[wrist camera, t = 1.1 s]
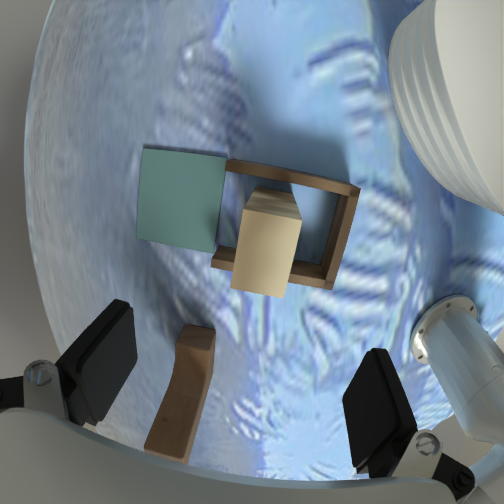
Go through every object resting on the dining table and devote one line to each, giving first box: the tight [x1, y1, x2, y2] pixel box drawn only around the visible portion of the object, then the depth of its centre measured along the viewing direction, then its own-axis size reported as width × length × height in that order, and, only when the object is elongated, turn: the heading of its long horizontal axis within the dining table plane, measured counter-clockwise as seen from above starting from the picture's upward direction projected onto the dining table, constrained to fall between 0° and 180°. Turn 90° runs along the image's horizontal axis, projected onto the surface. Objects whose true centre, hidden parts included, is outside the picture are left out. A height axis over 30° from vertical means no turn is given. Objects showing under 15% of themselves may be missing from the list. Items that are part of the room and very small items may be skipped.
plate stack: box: [388, 0, 504, 216], centre depth 17 cm, size 28×28×12 cm
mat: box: [136, 148, 228, 254], centre depth 31 cm, size 10×11×1 cm
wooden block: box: [144, 324, 216, 464], centre depth 30 cm, size 9×4×18 cm, turn 172°
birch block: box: [230, 186, 302, 298], centre depth 25 cm, size 4×6×12 cm, turn 171°
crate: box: [211, 159, 361, 290], centre depth 29 cm, size 13×11×4 cm
